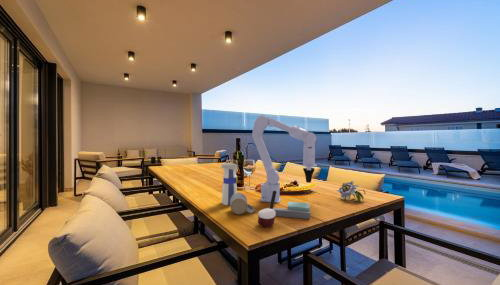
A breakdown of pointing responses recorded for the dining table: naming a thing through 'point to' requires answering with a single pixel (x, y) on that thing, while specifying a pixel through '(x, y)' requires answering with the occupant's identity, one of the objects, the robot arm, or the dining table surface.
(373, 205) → the dining table surface
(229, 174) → the water bottle
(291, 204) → the block
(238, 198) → the ceramic mug
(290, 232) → the dining table surface
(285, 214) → the gray bar
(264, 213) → the cocoa
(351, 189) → the passion flower
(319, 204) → the dining table surface
